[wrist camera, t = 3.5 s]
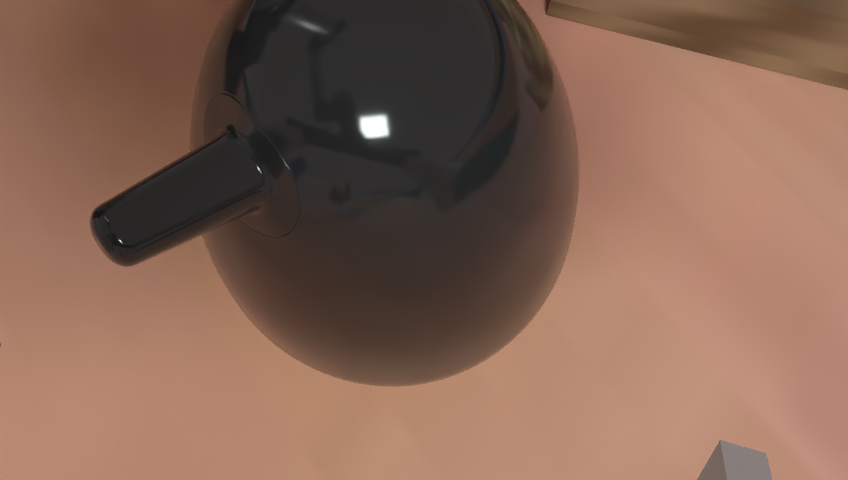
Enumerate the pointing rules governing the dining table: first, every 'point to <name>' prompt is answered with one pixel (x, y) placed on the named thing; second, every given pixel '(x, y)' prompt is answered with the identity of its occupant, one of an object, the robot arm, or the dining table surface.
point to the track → (733, 30)
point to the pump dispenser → (370, 181)
